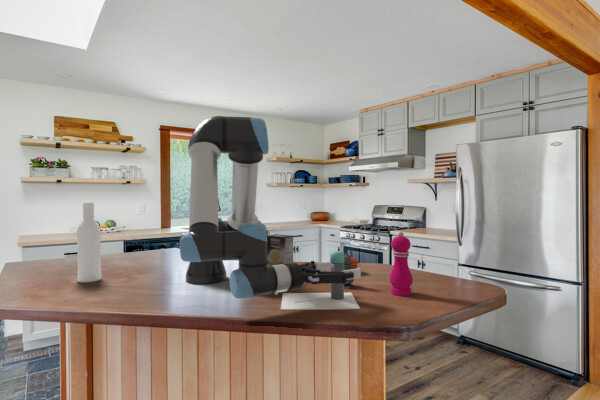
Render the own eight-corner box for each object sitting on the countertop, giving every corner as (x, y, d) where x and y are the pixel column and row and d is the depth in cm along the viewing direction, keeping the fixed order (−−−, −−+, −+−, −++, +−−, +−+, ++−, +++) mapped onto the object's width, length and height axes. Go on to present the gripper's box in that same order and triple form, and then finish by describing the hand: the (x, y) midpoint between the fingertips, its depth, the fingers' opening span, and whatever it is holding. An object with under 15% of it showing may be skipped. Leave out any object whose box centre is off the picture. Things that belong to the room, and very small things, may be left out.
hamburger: (330, 272, 148) (330, 256, 148) (349, 269, 152) (349, 254, 152) (342, 276, 140) (342, 259, 140) (363, 274, 144) (362, 257, 144)
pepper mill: (400, 298, 109) (400, 233, 109) (384, 292, 116) (384, 231, 116) (417, 294, 113) (417, 231, 113) (401, 289, 119) (401, 229, 119)
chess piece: (355, 288, 121) (354, 253, 121) (337, 288, 122) (337, 253, 122) (355, 284, 126) (355, 250, 126) (339, 283, 128) (338, 250, 127)
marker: (331, 300, 107) (331, 253, 107) (329, 296, 111) (329, 251, 111) (345, 299, 107) (345, 253, 107) (343, 295, 111) (343, 251, 111)
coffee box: (266, 275, 142) (265, 235, 141) (275, 272, 147) (275, 234, 147) (285, 278, 137) (284, 236, 136) (294, 275, 142) (293, 235, 142)
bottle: (79, 283, 131) (78, 202, 131) (75, 280, 137) (74, 202, 137) (103, 280, 136) (102, 202, 136) (98, 276, 142) (97, 201, 142)
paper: (280, 310, 99) (280, 308, 99) (282, 294, 115) (282, 293, 115) (359, 309, 99) (359, 307, 99) (350, 293, 115) (350, 292, 115)
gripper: (266, 281, 110) (322, 273, 121) (309, 302, 89) (373, 290, 100) (266, 257, 110) (322, 251, 121) (309, 272, 89) (373, 263, 100)
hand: (345, 269), depth 111 cm, fingers open, 13 cm apart
